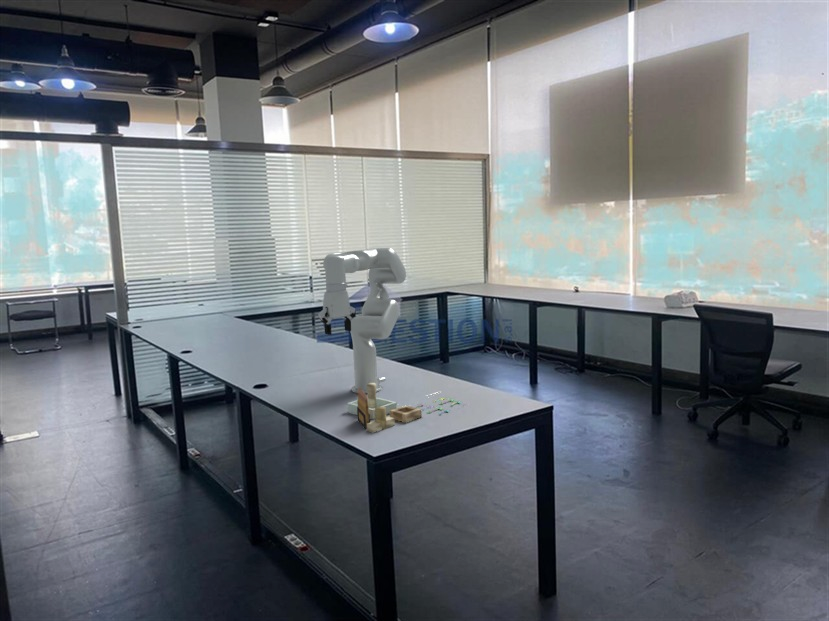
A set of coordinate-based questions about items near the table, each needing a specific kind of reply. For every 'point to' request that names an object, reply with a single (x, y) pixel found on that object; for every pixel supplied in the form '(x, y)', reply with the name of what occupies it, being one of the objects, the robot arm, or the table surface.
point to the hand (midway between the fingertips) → (338, 332)
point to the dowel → (371, 395)
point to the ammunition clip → (363, 409)
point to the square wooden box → (405, 413)
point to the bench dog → (380, 420)
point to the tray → (380, 402)
